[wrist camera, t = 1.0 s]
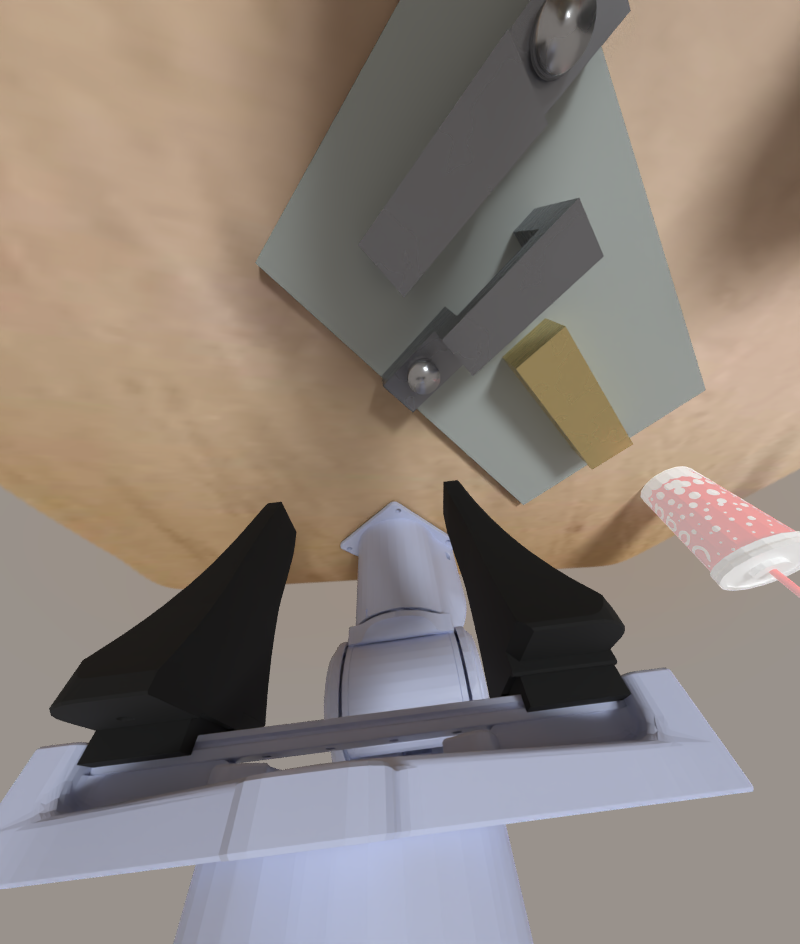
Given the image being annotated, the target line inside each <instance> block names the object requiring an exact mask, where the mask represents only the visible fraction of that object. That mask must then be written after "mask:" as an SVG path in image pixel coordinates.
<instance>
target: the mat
mask: <svg viewBox="0 0 800 944" xmlns="http://www.w3.org/2000/svg"><path fill="white" fill-rule="evenodd" d="M529 1H530V0H400V1H399V3H398V5H397V6H396V8H395V10H394V12H393V14H392V16H391V17H390V19H389V21H388V23H387V25H386V26H385V28H384V30H383V32H382V34H381V36H380V37H379V39H378V41H377V43H376V45H375V46H374V48H373V50H372V52H371V54H370V55H369V57H368V59H367V61H366V63H365V65H364V66H363V68H362V70H361V72H360V74H359V75H358V77H357V79H356V81H355V83H354V85H353V86H352V88H351V90H350V92H349V94H348V95H347V97H346V99H345V101H344V103H343V104H342V106H341V108H340V110H339V112H338V114H337V115H336V117H335V119H334V121H333V123H332V124H331V126H330V128H329V130H328V132H327V134H326V135H325V137H324V139H323V141H322V143H321V144H320V146H319V148H318V150H317V152H316V154H315V155H314V157H313V159H312V161H311V163H310V164H309V166H308V168H307V170H306V172H305V173H304V175H303V177H302V179H301V181H300V183H299V184H298V186H297V188H296V190H295V192H294V193H293V195H292V197H291V199H290V201H289V203H288V204H287V206H286V208H285V210H284V212H283V213H282V215H281V217H280V219H279V221H278V222H277V224H276V226H275V228H274V230H273V232H272V233H271V235H270V237H269V239H268V241H267V242H266V244H265V246H264V248H263V250H262V252H261V253H260V255H259V257H258V259H257V261H256V262H255V263H256V264H257V265H258V266H259V267H260V268H261V269H263V270H264V271H265V272H266V273H267V274H268V275H269V276H270V277H271V278H273V279H274V280H275V281H276V282H277V283H278V284H279V285H280V286H281V287H283V288H284V289H285V290H286V291H287V292H288V293H289V294H290V295H291V296H293V297H294V298H295V299H296V300H297V301H298V302H299V303H300V304H301V305H302V306H304V307H305V308H306V309H307V310H308V311H309V312H310V313H311V314H312V315H314V316H315V317H316V318H317V319H318V320H319V321H320V322H321V323H322V324H324V325H325V326H326V327H327V328H328V329H329V330H330V331H331V332H332V333H334V334H335V335H336V336H337V337H338V338H339V339H340V340H341V341H342V342H343V343H345V344H346V345H347V346H348V347H349V348H350V349H351V350H352V351H353V352H355V353H356V354H357V355H358V356H359V357H360V358H361V359H362V360H363V361H365V362H366V363H367V364H368V365H369V366H370V367H371V368H372V369H373V370H375V371H376V372H377V373H378V374H379V375H380V376H381V377H382V375H383V374H384V372H385V371H386V370H387V369H388V368H389V367H390V366H391V365H392V364H393V363H394V361H395V360H396V359H397V358H398V357H399V356H400V355H401V354H402V353H403V352H404V351H405V349H406V348H407V347H408V346H409V345H410V344H411V343H412V342H413V341H414V340H415V339H416V337H417V336H418V335H419V334H420V333H421V332H422V331H423V330H424V329H425V328H426V326H427V325H428V324H429V323H430V322H431V321H432V320H433V319H434V318H435V317H436V316H437V314H438V313H439V312H440V311H441V310H442V309H443V308H444V307H446V308H448V309H449V310H450V311H452V312H453V313H454V314H455V315H458V314H459V313H460V312H461V311H462V310H463V309H464V308H465V307H466V306H467V305H468V304H469V303H470V302H471V300H472V299H473V298H474V297H475V296H476V295H477V294H478V293H479V292H480V291H481V290H482V289H483V288H484V287H485V286H486V285H487V284H488V283H489V282H490V280H491V279H492V278H493V277H494V276H495V275H496V274H497V273H498V272H499V271H500V270H501V269H502V268H503V267H504V266H505V265H506V264H507V263H508V262H509V260H510V259H511V258H512V257H513V256H514V255H515V254H516V253H517V252H518V251H519V250H520V249H521V248H522V247H521V245H520V244H519V242H518V240H517V238H516V237H515V235H514V233H513V231H514V230H515V229H516V228H517V227H518V226H519V225H520V224H521V223H522V221H523V220H524V219H525V218H526V217H527V216H528V215H529V214H530V213H531V212H532V211H533V209H534V208H538V207H542V206H546V205H551V204H555V203H559V202H563V201H567V200H571V199H575V198H580V201H581V203H582V205H583V208H584V210H585V212H586V215H587V217H588V219H589V222H590V224H591V227H592V229H593V231H594V234H595V236H596V238H597V241H598V243H599V246H600V248H601V250H602V253H603V255H604V257H603V258H602V259H601V260H599V261H598V262H597V263H596V264H595V265H594V266H593V267H592V268H591V269H590V270H589V271H587V272H586V273H585V274H584V275H583V276H582V277H581V278H580V279H579V280H578V281H577V282H575V283H574V284H573V285H572V286H571V287H570V288H569V289H568V290H567V291H566V292H565V293H563V294H562V295H561V296H560V297H559V298H558V299H557V300H556V301H555V302H554V303H553V304H551V305H550V306H549V307H548V308H547V309H546V310H545V311H544V312H543V313H542V314H540V315H539V316H538V317H537V318H536V319H535V320H534V321H533V322H532V323H531V324H530V325H528V326H527V327H526V328H525V329H524V330H523V331H522V332H521V333H520V334H519V335H518V336H516V337H515V338H514V339H513V340H512V341H511V342H510V343H509V344H508V345H507V346H506V347H504V348H503V349H502V350H501V351H500V352H499V353H498V354H497V355H496V356H495V357H494V358H492V359H491V360H490V361H489V362H488V363H487V364H486V365H485V366H484V367H483V368H482V369H480V370H479V371H478V372H477V373H476V374H475V375H474V376H473V375H472V374H471V373H470V372H469V371H468V370H467V369H466V368H465V366H464V365H462V366H461V367H460V368H459V369H458V370H457V371H456V372H455V373H454V374H453V375H452V376H451V377H450V378H449V379H448V380H447V381H446V382H444V383H443V384H442V385H441V386H440V387H439V388H438V389H437V390H436V391H435V392H434V393H433V394H432V395H431V396H430V397H429V398H428V399H427V400H426V401H425V402H423V403H422V404H421V405H420V406H419V407H418V408H417V409H418V410H419V411H420V412H421V413H422V414H423V415H424V416H425V417H427V418H428V419H429V420H430V421H431V422H432V423H433V424H434V425H435V426H437V427H438V428H439V429H440V430H441V431H442V432H443V433H444V434H445V435H447V436H448V437H449V438H450V439H451V440H452V441H453V442H454V443H455V444H457V445H458V446H459V447H460V448H461V449H462V450H463V451H464V452H465V453H466V454H468V455H469V456H470V457H471V458H472V459H473V460H474V461H475V462H476V463H478V464H479V465H480V466H481V467H482V468H483V469H484V470H485V471H486V472H488V473H489V474H490V475H491V476H492V477H493V478H494V479H495V480H496V481H498V482H499V483H500V484H501V485H502V486H503V487H504V488H505V489H506V490H507V491H509V492H510V493H511V494H512V495H513V496H514V497H515V498H516V499H517V500H519V501H520V502H521V503H522V504H523V505H524V504H526V503H527V502H529V501H531V500H532V499H534V498H535V497H537V496H539V495H540V494H542V493H543V492H545V491H546V490H548V489H550V488H551V487H553V486H554V485H556V484H558V483H559V482H561V481H562V480H564V479H565V478H567V477H569V476H570V475H572V474H573V473H575V472H577V471H578V470H580V469H581V468H583V467H584V466H586V465H587V464H586V463H585V462H584V461H583V460H582V459H581V458H580V457H579V456H578V455H577V454H576V453H575V452H574V450H573V449H572V448H571V446H570V445H569V444H568V443H567V441H566V440H565V439H564V437H563V436H562V435H561V433H560V432H559V431H558V430H557V428H556V427H555V426H554V424H553V423H552V422H551V420H550V419H549V418H548V417H547V415H546V414H545V413H544V411H543V410H542V409H541V407H540V406H539V405H538V403H537V402H536V401H535V400H534V398H533V397H532V396H531V394H530V393H529V392H528V390H527V389H526V388H525V387H524V385H523V384H522V383H521V381H520V380H519V379H518V377H517V376H516V375H515V374H514V372H513V371H512V370H511V368H510V367H509V366H508V364H507V363H506V362H505V361H504V359H503V358H502V357H503V356H504V355H505V354H506V353H507V352H508V351H509V350H511V349H512V348H513V347H514V346H515V345H516V344H517V343H518V342H519V341H520V340H522V339H523V338H524V337H525V336H526V335H527V334H528V333H529V332H530V331H532V330H533V329H534V328H535V327H536V326H537V325H538V324H539V323H540V322H542V321H543V320H544V319H545V318H546V319H549V320H551V321H554V322H556V323H559V324H561V325H564V326H566V328H567V330H568V331H569V333H570V335H571V337H572V338H573V340H574V342H575V344H576V345H577V347H578V349H579V351H580V352H581V354H582V356H583V358H584V359H585V361H586V363H587V365H588V366H589V368H590V370H591V372H592V373H593V375H594V377H595V378H596V380H597V382H598V384H599V385H600V387H601V389H602V391H603V392H604V394H605V396H606V398H607V399H608V401H609V403H610V405H611V406H612V408H613V410H614V412H615V413H616V415H617V417H618V419H619V420H620V422H621V424H622V426H623V427H624V429H625V431H626V433H627V434H628V436H629V438H630V437H632V436H634V435H635V434H637V433H638V432H640V431H641V430H643V429H645V428H646V427H648V426H649V425H651V424H652V423H654V422H656V421H657V420H659V419H660V418H662V417H664V416H665V415H667V414H668V413H670V412H671V411H673V410H675V409H676V408H678V407H679V406H681V405H683V404H684V403H686V402H687V401H689V400H690V399H692V398H694V397H695V396H697V395H698V394H700V393H702V392H703V391H705V390H706V389H705V386H704V383H703V379H702V376H701V373H700V370H699V366H698V363H697V360H696V356H695V353H694V350H693V347H692V343H691V340H690V337H689V333H688V330H687V327H686V324H685V320H684V317H683V314H682V310H681V307H680V304H679V301H678V297H677V294H676V291H675V287H674V284H673V281H672V278H671V274H670V271H669V268H668V264H667V261H666V258H665V255H664V251H663V248H662V245H661V241H660V238H659V235H658V231H657V228H656V225H655V222H654V218H653V215H652V212H651V208H650V205H649V202H648V199H647V195H646V192H645V189H644V185H643V182H642V179H641V176H640V172H639V169H638V166H637V162H636V159H635V156H634V153H633V149H632V146H631V143H630V139H629V136H628V133H627V130H626V126H625V123H624V120H623V116H622V113H621V110H620V106H619V103H618V100H617V97H616V93H615V90H614V87H613V83H612V80H611V77H610V74H609V70H608V67H607V64H606V60H605V57H604V54H603V51H602V47H600V48H599V50H598V51H597V52H596V53H595V55H594V56H593V57H592V58H591V59H590V61H589V62H588V63H587V64H586V66H585V67H584V68H583V69H582V70H581V72H580V73H579V74H578V75H577V77H576V78H575V79H574V80H573V81H572V83H571V84H570V85H569V86H568V88H567V89H566V90H565V91H564V92H563V94H562V95H561V96H560V97H559V99H558V100H557V101H556V102H555V103H554V105H553V106H552V107H551V108H550V110H549V111H548V112H547V113H546V114H545V117H546V120H547V122H548V125H547V126H546V127H545V128H544V129H543V131H542V132H541V133H540V134H539V136H538V137H537V138H536V139H535V140H534V142H533V143H532V144H531V145H530V146H529V148H528V149H527V150H526V151H525V152H524V154H523V155H522V156H521V157H520V158H519V160H518V161H517V162H516V163H515V164H514V166H513V167H512V168H511V169H510V170H509V172H508V173H507V174H506V175H505V176H504V178H503V179H502V180H501V181H500V182H499V184H498V185H497V186H496V187H495V188H494V190H493V191H492V192H491V193H490V194H489V196H488V197H487V198H486V199H485V200H484V202H483V203H482V204H481V205H480V206H479V208H478V209H477V210H476V211H475V212H474V214H473V215H472V216H471V217H470V218H469V220H468V221H467V222H466V223H465V224H464V226H463V227H462V228H461V229H460V230H459V232H458V233H457V234H456V235H455V237H454V238H453V239H452V240H451V241H450V243H449V244H448V245H447V246H446V247H445V249H444V250H443V251H442V252H441V253H440V255H439V256H438V257H437V258H436V259H435V261H434V262H433V263H432V264H431V265H430V267H429V268H428V269H427V270H426V271H425V273H424V274H423V275H422V276H421V277H420V279H419V280H418V281H417V282H416V283H415V285H414V286H413V287H412V288H411V289H410V291H409V292H408V293H407V294H406V295H405V297H403V296H402V295H401V293H400V292H399V291H398V290H397V289H396V288H395V287H394V285H393V284H392V283H391V282H390V281H389V280H388V279H387V277H386V276H385V275H384V274H383V273H382V272H381V271H380V269H379V268H378V267H377V266H376V265H375V264H374V263H373V261H372V260H371V259H370V258H369V257H368V256H367V255H366V253H365V252H364V251H363V250H362V249H361V248H360V247H359V245H358V244H359V243H360V241H361V240H362V238H363V237H364V235H365V234H366V233H367V231H368V230H369V228H370V227H371V225H372V224H373V222H374V221H375V220H376V218H377V217H378V215H379V214H380V212H381V211H382V209H383V208H384V207H385V205H386V204H387V202H388V201H389V199H390V198H391V197H392V195H393V194H394V192H395V191H396V189H397V188H398V186H399V185H400V184H401V182H402V181H403V179H404V178H405V176H406V175H407V173H408V172H409V171H410V169H411V168H412V166H413V165H414V163H415V162H416V160H417V159H418V158H419V156H420V155H421V153H422V152H423V150H424V149H425V147H426V146H427V145H428V143H429V142H430V140H431V139H432V137H433V136H434V135H435V133H436V132H437V130H438V129H439V127H440V126H441V124H442V123H443V122H444V120H445V119H446V117H447V116H448V114H449V113H450V111H451V110H452V109H453V107H454V106H455V104H456V103H457V101H458V100H459V98H460V97H461V96H462V94H463V93H464V91H465V90H466V88H467V87H468V86H469V84H470V83H471V81H472V80H473V78H474V77H475V75H476V74H477V73H478V71H479V70H480V68H481V67H482V65H483V64H484V62H485V61H486V60H487V58H488V57H489V55H490V54H491V52H492V51H493V49H494V48H495V47H496V45H497V44H498V42H499V41H500V39H501V38H502V36H503V35H504V34H505V32H506V31H507V29H508V30H510V28H511V27H512V26H513V24H514V23H515V21H516V20H517V18H518V17H519V15H520V14H521V13H522V11H523V10H524V8H525V7H526V5H527V4H528V3H529Z"/></svg>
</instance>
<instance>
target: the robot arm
mask: <svg viewBox="0 0 800 944" xmlns="http://www.w3.org/2000/svg"><path fill="white" fill-rule="evenodd" d="M397 509H399V510H397ZM443 515H444V519H445V524H446V529H447V533H448V534H446V533H445V532H443V531H441V530H440V529H438V528H437V527H435V526H434V525H432V524H431V523H429V522H427V521H426V520H424V519H423V518H421V517H420V516H418V515H417V514H415V513H413V512H412V511H410V510H409V509H407V508H406V507H404V506H403V505H401V504H399V503H398V502H391V503H389V504H388V505H387V506H386V507H384V508H383V509H382V510H381V511H379V512H378V513H377V514H376V515H374V516H373V517H372V518H371V519H369V520H368V521H367V522H366V523H365V524H363V525H362V526H361V527H360V528H358V529H357V530H356V531H355V532H353V533H352V534H351V535H350V536H349V537H347V538H346V539H345V540H344V541H342V542H341V546H340V547H341V548H342V549H343V550H346V551H348V552H350V553H352V554H354V555H356V556H358V557H359V559H358V585H357V610H356V626H353V627H350V628H349V639H348V642H344V643H342V644H340V645H339V647H338V648H337V650H336V652H335V654H334V655H333V656H332V658H331V661H330V664H329V667H328V672H327V677H326V684H325V697H324V719H323V720H315V721H307V722H300V723H291V724H283V725H276V726H268V727H264V726H265V721H266V720H265V719H266V706H267V694H268V683H269V674H270V665H271V655H272V649H273V642H274V635H275V629H276V622H277V616H278V611H279V606H280V602H281V598H282V594H283V591H284V587H285V584H286V580H287V576H288V573H289V569H290V565H291V562H292V558H293V554H294V547H295V539H296V530H295V528H294V526H293V524H292V522H291V520H290V518H289V516H288V514H287V512H286V510H285V508H284V506H283V504H282V502H276V503H268V504H267V505H266V506H265V507H264V508H263V509H262V510H261V511H260V513H259V514H258V515H257V516H256V517H255V518H254V519H253V521H252V522H251V523H250V524H249V525H248V526H247V527H246V529H245V530H244V531H243V532H242V533H241V534H240V535H239V536H238V538H237V539H236V540H235V541H234V542H233V543H232V544H231V545H230V546H229V547H228V548H227V549H226V550H225V551H224V552H223V553H222V554H221V555H220V556H219V557H218V558H217V560H216V561H215V562H214V563H213V564H211V565H210V566H209V567H208V568H207V569H206V570H205V571H204V572H203V573H202V574H201V575H200V576H198V577H197V578H196V579H195V580H194V581H193V582H192V583H191V584H189V585H188V586H187V587H186V588H185V589H183V590H182V591H181V592H180V593H178V594H177V595H176V596H175V597H173V598H172V599H171V600H170V601H169V602H167V603H166V604H165V605H164V606H162V607H161V608H160V609H158V610H157V611H156V612H154V613H153V614H152V615H150V616H149V617H147V618H146V619H145V620H144V621H142V622H140V623H139V624H138V625H136V626H135V627H133V628H132V629H130V630H129V631H128V632H126V633H125V634H123V635H122V636H120V637H119V638H117V639H115V640H114V641H112V642H111V643H109V644H108V645H106V646H105V647H103V648H102V649H100V650H98V651H97V652H95V653H94V654H92V655H91V656H89V657H88V658H86V659H84V660H83V661H82V662H81V664H80V665H79V667H78V668H77V670H76V671H75V672H74V674H73V676H72V677H71V678H70V680H69V681H68V682H67V684H66V685H65V687H64V688H63V690H62V691H61V692H60V694H59V695H58V697H57V698H56V700H55V701H54V703H53V704H52V705H51V707H50V708H49V709H50V713H51V716H53V717H54V718H56V719H59V720H62V721H64V722H67V723H71V724H74V725H78V726H82V727H85V728H89V729H92V730H96V732H95V733H94V735H93V737H92V739H91V740H90V742H89V743H86V742H83V743H82V742H76V743H67V744H59V745H51V746H43V747H40V748H38V749H37V750H36V751H35V752H34V754H33V755H32V757H31V759H30V760H29V761H28V763H27V764H26V766H25V767H24V769H23V770H22V772H21V773H20V775H19V776H18V778H17V779H16V781H15V782H14V784H13V785H12V787H11V788H10V790H9V791H8V793H7V794H6V796H5V797H4V799H3V800H2V802H1V803H0V889H6V888H14V887H22V886H30V885H38V884H46V883H54V882H61V881H69V880H77V879H85V878H93V877H101V876H109V875H117V874H124V873H133V872H140V871H148V870H156V869H164V868H172V867H180V866H188V865H196V866H195V869H194V873H193V876H192V880H191V883H190V887H189V890H188V894H187V898H186V901H185V904H184V908H183V911H182V915H181V918H180V922H179V925H178V929H177V933H176V936H175V940H174V943H173V944H534V943H533V939H532V935H531V931H530V927H529V922H528V918H527V914H526V909H525V905H524V901H523V896H522V893H521V888H520V884H519V879H518V875H517V871H516V867H515V863H514V858H513V854H512V850H511V845H510V841H509V837H508V832H507V828H506V824H510V823H517V822H525V821H532V820H540V819H547V818H555V817H563V816H570V815H577V814H585V813H592V812H600V811H608V810H615V809H623V808H630V807H638V806H645V805H653V804H660V803H668V802H675V801H682V800H690V799H697V798H706V797H713V796H721V795H729V794H736V793H743V792H752V791H753V788H754V787H753V785H752V784H751V782H750V781H749V780H748V778H747V777H746V776H745V774H744V773H743V771H742V770H741V768H740V767H739V766H738V764H737V763H736V761H735V760H734V759H733V757H732V756H731V754H730V753H729V752H728V750H727V749H726V747H725V746H724V744H723V743H722V742H721V740H720V739H719V738H718V736H717V735H716V733H715V732H714V730H713V729H712V728H711V726H710V725H709V723H708V722H707V721H706V719H705V718H704V716H703V715H702V714H701V712H700V711H699V709H698V708H697V707H696V705H695V704H694V702H693V701H692V700H691V699H690V697H689V695H688V694H687V693H686V691H685V690H684V688H683V687H682V686H681V685H680V683H679V681H678V680H677V679H676V677H675V676H674V675H673V673H672V672H671V670H670V669H668V668H657V669H649V670H641V671H634V672H629V673H626V674H623V675H621V676H620V674H619V672H618V670H617V669H616V667H615V664H617V660H616V658H615V656H614V655H613V653H612V651H611V648H612V647H613V646H614V644H615V643H616V642H617V641H618V640H619V639H620V638H621V637H622V635H623V634H624V631H625V626H624V624H623V623H622V621H621V620H620V619H619V617H618V615H617V614H616V612H615V611H614V610H613V608H612V607H611V606H610V604H609V603H608V602H607V601H606V600H605V598H604V597H603V596H602V595H601V594H599V593H598V592H596V591H594V590H592V589H590V588H588V587H586V586H585V585H583V584H580V583H579V582H577V581H575V580H573V579H572V578H570V577H568V576H566V575H565V574H563V573H562V572H560V571H558V570H557V569H555V568H553V567H552V566H550V565H549V564H548V563H546V562H545V561H543V560H542V559H540V558H539V557H537V556H536V555H534V554H533V553H531V552H530V551H529V550H528V549H526V548H525V547H524V546H522V545H521V544H520V543H518V542H517V541H516V540H515V539H514V538H512V537H511V536H510V535H509V534H508V533H506V532H505V531H504V530H503V529H502V528H501V527H500V526H499V525H498V524H497V523H496V522H495V521H493V520H492V519H491V518H490V517H489V516H488V515H487V513H486V512H485V511H484V510H483V509H482V508H481V507H480V506H479V505H478V504H477V503H476V502H475V501H474V499H473V498H472V497H471V496H470V495H469V493H468V492H467V491H466V490H465V489H464V487H463V486H462V485H461V483H460V482H459V481H458V480H455V481H447V482H444V490H443ZM452 550H453V551H454V554H455V557H456V560H457V563H458V566H459V569H460V572H461V574H462V577H463V580H464V584H465V587H466V591H467V595H468V599H469V604H470V608H471V612H472V616H473V621H474V625H475V630H476V634H477V638H478V643H479V648H480V653H481V657H482V661H483V667H484V672H485V677H486V681H487V686H488V691H489V696H488V691H487V686H486V681H485V677H484V673H483V669H482V665H481V661H480V658H479V654H478V651H477V648H476V645H475V642H474V640H473V638H472V636H471V635H470V634H469V633H468V632H467V631H465V630H464V628H463V625H464V622H465V617H466V600H465V596H464V592H463V588H462V585H461V581H460V577H459V573H458V570H457V566H456V562H455V559H454V555H453V551H452ZM489 697H490V698H489ZM329 751H331V756H332V763H325V764H317V765H310V766H304V767H297V768H291V769H285V770H279V769H276V768H273V767H270V766H269V765H268V764H267V763H243V762H251V761H259V760H266V759H274V758H282V757H290V756H298V755H306V754H313V753H322V752H329Z"/></svg>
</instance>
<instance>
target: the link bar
mask: <svg viewBox="0 0 800 944" xmlns="http://www.w3.org/2000/svg"><path fill="white" fill-rule="evenodd" d="M502 358H503V359H504V361H505V362H506V363H507V364H508V366H509V367H510V368H511V370H512V371H513V372H514V374H515V375H516V376H517V377H518V379H519V380H520V381H521V383H522V384H523V385H524V387H525V388H526V389H527V390H528V392H529V393H530V394H531V396H532V397H533V398H534V400H535V401H536V402H537V403H538V405H539V406H540V407H541V409H542V410H543V411H544V413H545V414H546V415H547V417H548V418H549V419H550V420H551V422H552V423H553V424H554V426H555V427H556V428H557V430H558V431H559V432H560V433H561V435H562V436H563V437H564V439H565V440H566V441H567V443H568V444H569V445H570V446H571V448H572V449H573V450H574V452H575V453H576V454H577V455H578V456H579V457H580V458H581V459H582V460H583V461H584V462H585V463H586V464H587V465H588V466H589V467H590V468H591V469H594V468H596V467H597V466H599V465H600V464H602V463H604V462H605V461H607V460H608V459H610V458H612V457H613V456H615V455H616V454H618V453H620V452H621V451H623V450H625V449H626V448H628V447H629V446H631V445H633V443H632V441H631V440H630V438H629V436H628V434H627V433H626V431H625V429H624V427H623V426H622V424H621V422H620V420H619V419H618V417H617V415H616V413H615V412H614V410H613V408H612V406H611V405H610V403H609V401H608V399H607V398H606V396H605V394H604V392H603V391H602V389H601V387H600V385H599V384H598V382H597V380H596V378H595V377H594V375H593V373H592V372H591V370H590V368H589V366H588V365H587V363H586V361H585V359H584V358H583V356H582V354H581V352H580V351H579V349H578V347H577V345H576V344H575V342H574V340H573V338H572V337H571V335H570V333H569V331H568V330H567V328H566V326H564V325H561V324H559V323H556V322H554V321H551V320H549V319H546V318H545V319H544V320H543V321H542V322H540V323H539V324H538V325H537V326H536V327H535V328H534V329H533V330H532V331H530V332H529V333H528V334H527V335H526V336H525V337H524V338H523V339H522V340H520V341H519V342H518V343H517V344H516V345H515V346H514V347H513V348H512V349H511V350H509V351H508V352H507V353H506V354H505V355H504V356H503V357H502Z"/></svg>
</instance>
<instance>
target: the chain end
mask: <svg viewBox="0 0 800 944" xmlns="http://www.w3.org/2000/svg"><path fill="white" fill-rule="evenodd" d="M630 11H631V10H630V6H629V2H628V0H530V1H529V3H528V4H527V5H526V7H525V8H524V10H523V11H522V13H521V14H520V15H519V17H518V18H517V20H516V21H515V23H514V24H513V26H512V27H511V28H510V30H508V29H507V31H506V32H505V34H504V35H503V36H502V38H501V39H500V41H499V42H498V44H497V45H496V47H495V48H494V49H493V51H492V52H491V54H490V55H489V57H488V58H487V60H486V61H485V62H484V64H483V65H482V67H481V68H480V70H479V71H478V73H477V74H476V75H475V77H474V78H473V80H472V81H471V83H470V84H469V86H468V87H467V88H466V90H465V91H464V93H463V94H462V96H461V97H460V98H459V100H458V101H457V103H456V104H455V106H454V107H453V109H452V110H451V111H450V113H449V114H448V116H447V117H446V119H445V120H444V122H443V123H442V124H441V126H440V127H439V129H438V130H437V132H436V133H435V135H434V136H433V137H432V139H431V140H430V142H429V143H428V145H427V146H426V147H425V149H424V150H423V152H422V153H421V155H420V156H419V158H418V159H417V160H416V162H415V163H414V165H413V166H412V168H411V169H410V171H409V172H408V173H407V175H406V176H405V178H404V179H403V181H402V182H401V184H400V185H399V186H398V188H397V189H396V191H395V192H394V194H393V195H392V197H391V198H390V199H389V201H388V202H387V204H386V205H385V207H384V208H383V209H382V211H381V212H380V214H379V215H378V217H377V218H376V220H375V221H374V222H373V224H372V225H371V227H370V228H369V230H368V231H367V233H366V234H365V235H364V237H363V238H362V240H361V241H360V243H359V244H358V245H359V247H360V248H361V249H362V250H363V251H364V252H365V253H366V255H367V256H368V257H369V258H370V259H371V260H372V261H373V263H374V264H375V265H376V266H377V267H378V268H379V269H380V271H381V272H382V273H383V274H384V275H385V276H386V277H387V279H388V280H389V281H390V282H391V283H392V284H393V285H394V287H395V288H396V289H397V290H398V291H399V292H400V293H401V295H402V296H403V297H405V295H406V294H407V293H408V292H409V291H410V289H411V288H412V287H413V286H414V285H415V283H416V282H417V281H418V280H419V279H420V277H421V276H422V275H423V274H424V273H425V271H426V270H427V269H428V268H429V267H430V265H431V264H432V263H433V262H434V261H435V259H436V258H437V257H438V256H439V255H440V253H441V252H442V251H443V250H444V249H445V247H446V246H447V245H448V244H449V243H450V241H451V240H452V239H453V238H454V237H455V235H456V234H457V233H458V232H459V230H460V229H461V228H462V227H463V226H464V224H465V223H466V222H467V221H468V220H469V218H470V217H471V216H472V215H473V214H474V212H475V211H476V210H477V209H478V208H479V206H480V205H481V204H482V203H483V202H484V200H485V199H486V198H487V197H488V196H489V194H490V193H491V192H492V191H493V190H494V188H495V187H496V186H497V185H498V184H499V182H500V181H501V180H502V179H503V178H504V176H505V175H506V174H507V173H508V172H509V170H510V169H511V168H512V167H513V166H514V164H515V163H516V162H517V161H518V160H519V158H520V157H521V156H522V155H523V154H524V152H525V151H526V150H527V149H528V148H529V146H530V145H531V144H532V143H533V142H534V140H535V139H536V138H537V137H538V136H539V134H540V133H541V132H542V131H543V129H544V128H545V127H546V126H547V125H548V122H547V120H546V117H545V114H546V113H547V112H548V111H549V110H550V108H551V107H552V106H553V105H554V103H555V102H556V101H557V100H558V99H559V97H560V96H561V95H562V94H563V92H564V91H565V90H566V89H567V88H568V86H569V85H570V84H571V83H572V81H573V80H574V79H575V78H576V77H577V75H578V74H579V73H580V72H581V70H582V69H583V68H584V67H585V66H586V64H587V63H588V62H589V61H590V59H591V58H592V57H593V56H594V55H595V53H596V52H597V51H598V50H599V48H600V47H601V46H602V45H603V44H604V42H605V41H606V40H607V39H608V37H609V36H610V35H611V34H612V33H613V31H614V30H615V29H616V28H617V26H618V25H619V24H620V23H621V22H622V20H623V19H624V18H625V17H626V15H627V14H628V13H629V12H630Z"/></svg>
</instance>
